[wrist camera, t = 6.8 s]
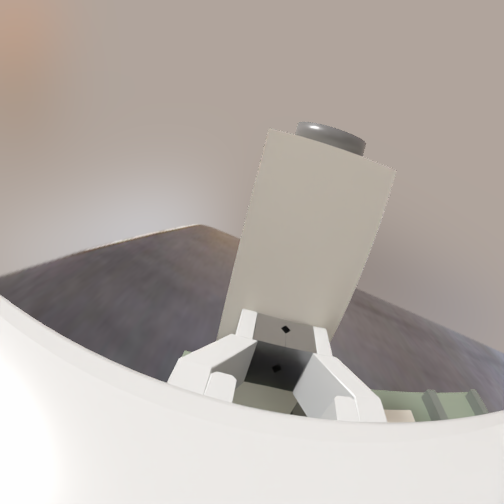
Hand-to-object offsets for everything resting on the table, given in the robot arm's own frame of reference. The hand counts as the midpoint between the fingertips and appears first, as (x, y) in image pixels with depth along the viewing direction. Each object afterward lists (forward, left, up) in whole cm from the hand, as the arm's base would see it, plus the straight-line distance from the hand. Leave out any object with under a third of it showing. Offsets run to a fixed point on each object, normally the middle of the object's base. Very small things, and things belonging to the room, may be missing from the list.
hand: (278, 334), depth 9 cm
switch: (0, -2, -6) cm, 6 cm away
